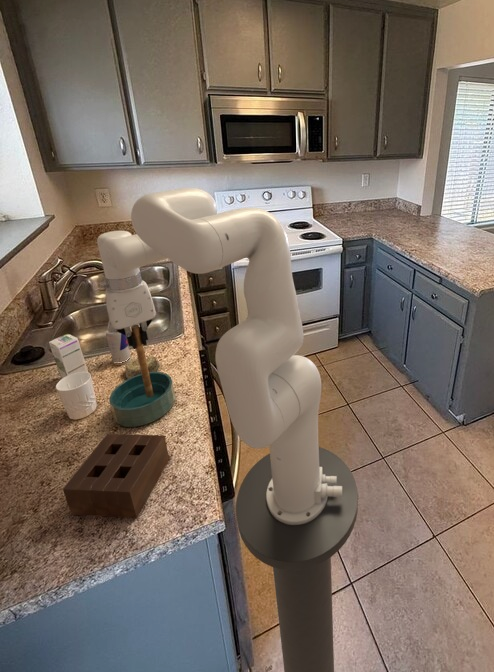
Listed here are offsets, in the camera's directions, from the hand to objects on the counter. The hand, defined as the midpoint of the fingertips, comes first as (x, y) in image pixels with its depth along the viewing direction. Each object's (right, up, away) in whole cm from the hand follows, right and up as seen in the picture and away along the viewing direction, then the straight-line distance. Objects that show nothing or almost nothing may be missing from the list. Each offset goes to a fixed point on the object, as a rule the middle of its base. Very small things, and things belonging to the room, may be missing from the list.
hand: (138, 344), depth 94 cm
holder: (+6, -26, -17) cm, 32 cm away
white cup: (-18, -20, +4) cm, 27 cm away
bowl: (-1, -19, +5) cm, 19 cm away
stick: (0, -16, +5) cm, 17 cm away
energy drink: (-19, -12, +26) cm, 35 cm away
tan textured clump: (-10, -14, +21) cm, 27 cm away
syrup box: (-29, -15, +17) cm, 37 cm away
